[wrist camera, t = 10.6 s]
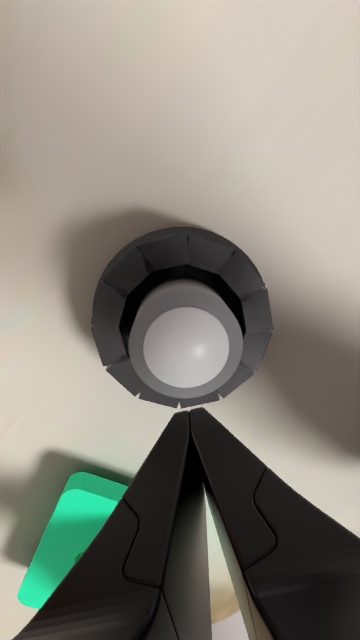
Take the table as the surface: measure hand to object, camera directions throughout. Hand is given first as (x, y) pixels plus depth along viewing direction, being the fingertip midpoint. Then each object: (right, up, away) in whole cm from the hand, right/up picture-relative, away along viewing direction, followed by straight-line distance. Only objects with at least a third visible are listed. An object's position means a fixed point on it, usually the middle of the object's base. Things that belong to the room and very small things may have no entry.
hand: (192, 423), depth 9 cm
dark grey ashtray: (0, +3, +11) cm, 12 cm away
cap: (0, +3, +10) cm, 11 cm away
